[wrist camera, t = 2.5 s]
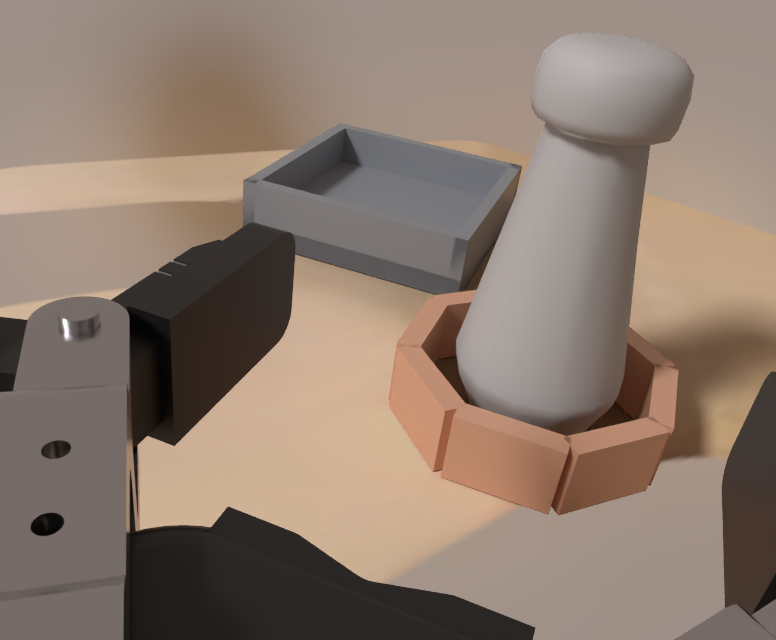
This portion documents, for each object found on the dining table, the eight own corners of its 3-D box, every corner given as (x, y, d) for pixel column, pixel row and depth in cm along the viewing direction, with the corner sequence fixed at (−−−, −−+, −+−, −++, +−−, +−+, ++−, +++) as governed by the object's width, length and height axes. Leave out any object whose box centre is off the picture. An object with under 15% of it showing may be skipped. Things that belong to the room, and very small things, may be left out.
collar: (661, 383, 30) (681, 330, 28) (643, 548, 22) (669, 487, 21) (441, 318, 32) (450, 267, 31) (357, 447, 24) (364, 387, 23)
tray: (511, 215, 42) (522, 165, 41) (457, 300, 33) (468, 240, 32) (336, 171, 45) (339, 123, 44) (242, 238, 36) (243, 180, 35)
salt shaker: (637, 446, 26) (783, 71, 19) (503, 486, 24) (615, 71, 17) (540, 355, 30) (631, 21, 24) (417, 380, 28) (479, 15, 21)
